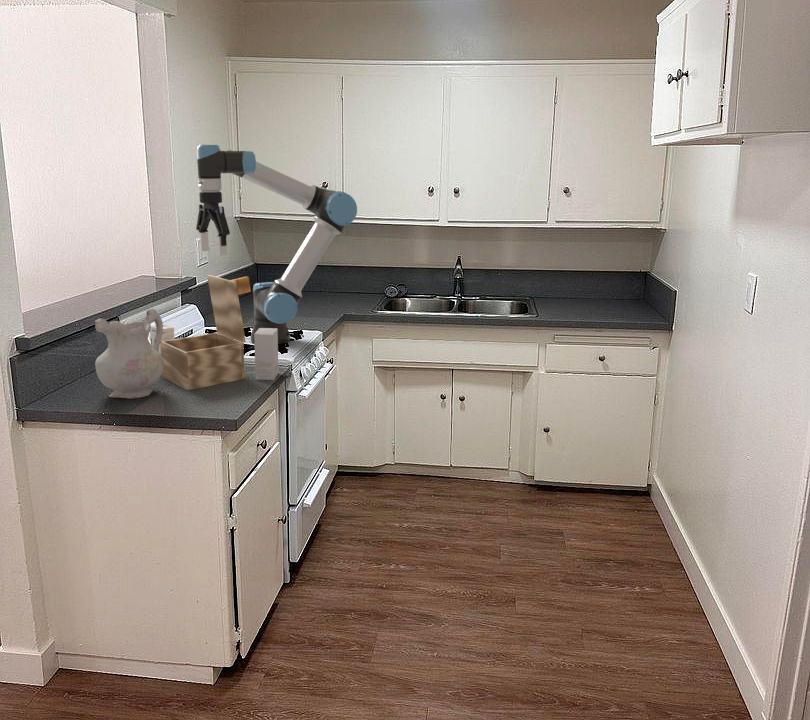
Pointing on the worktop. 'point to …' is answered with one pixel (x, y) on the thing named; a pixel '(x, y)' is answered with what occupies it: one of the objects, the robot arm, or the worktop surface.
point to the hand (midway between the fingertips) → (213, 253)
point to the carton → (202, 360)
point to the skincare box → (266, 353)
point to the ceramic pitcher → (130, 356)
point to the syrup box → (166, 335)
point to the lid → (228, 305)
